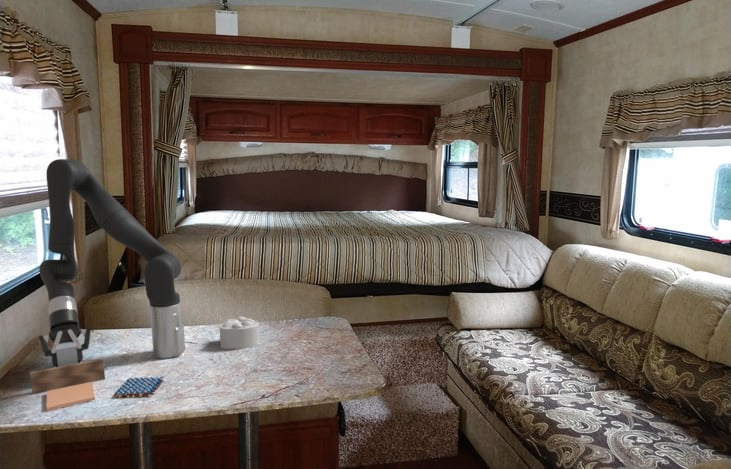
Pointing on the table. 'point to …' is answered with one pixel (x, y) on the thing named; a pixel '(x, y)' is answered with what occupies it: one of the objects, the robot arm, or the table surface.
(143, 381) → the woven mat
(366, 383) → the table surface
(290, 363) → the table surface
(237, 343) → the lumpy-topped squat cylinder
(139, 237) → the robot arm
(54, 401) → the terracotta tile
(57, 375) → the walnut screen
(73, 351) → the plain grey block
